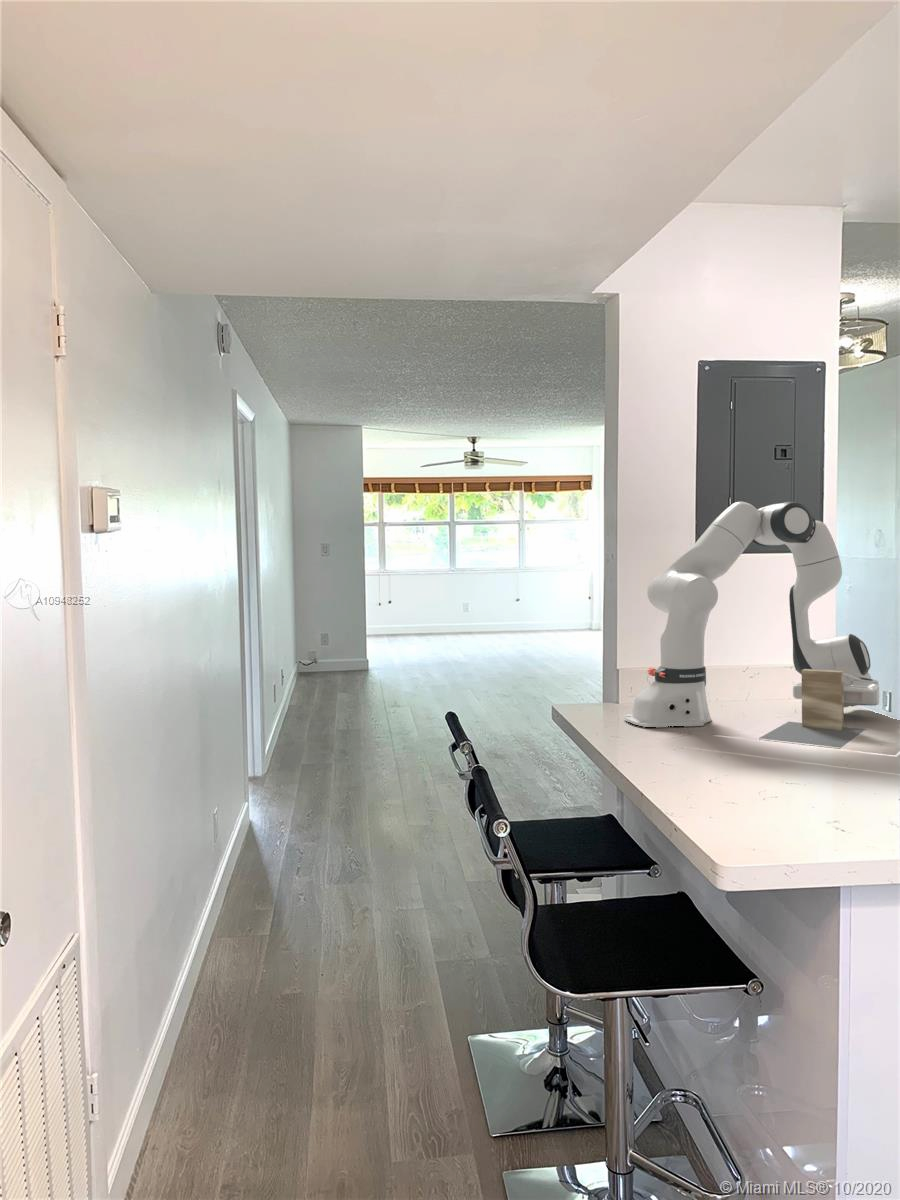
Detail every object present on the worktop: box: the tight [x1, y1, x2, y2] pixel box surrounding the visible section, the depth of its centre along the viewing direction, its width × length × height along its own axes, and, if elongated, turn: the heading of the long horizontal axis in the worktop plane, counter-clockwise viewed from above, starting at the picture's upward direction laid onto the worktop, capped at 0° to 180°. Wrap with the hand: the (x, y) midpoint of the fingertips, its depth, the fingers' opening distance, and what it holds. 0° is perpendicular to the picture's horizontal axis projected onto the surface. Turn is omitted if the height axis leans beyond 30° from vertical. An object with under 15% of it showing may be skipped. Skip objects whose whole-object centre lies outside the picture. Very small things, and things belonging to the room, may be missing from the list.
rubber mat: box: [758, 721, 866, 750], centre depth 200 cm, size 22×18×1 cm
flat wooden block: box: [801, 669, 845, 730], centre depth 206 cm, size 3×9×14 cm, turn 51°
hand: (827, 697), depth 209 cm, fingers closed
